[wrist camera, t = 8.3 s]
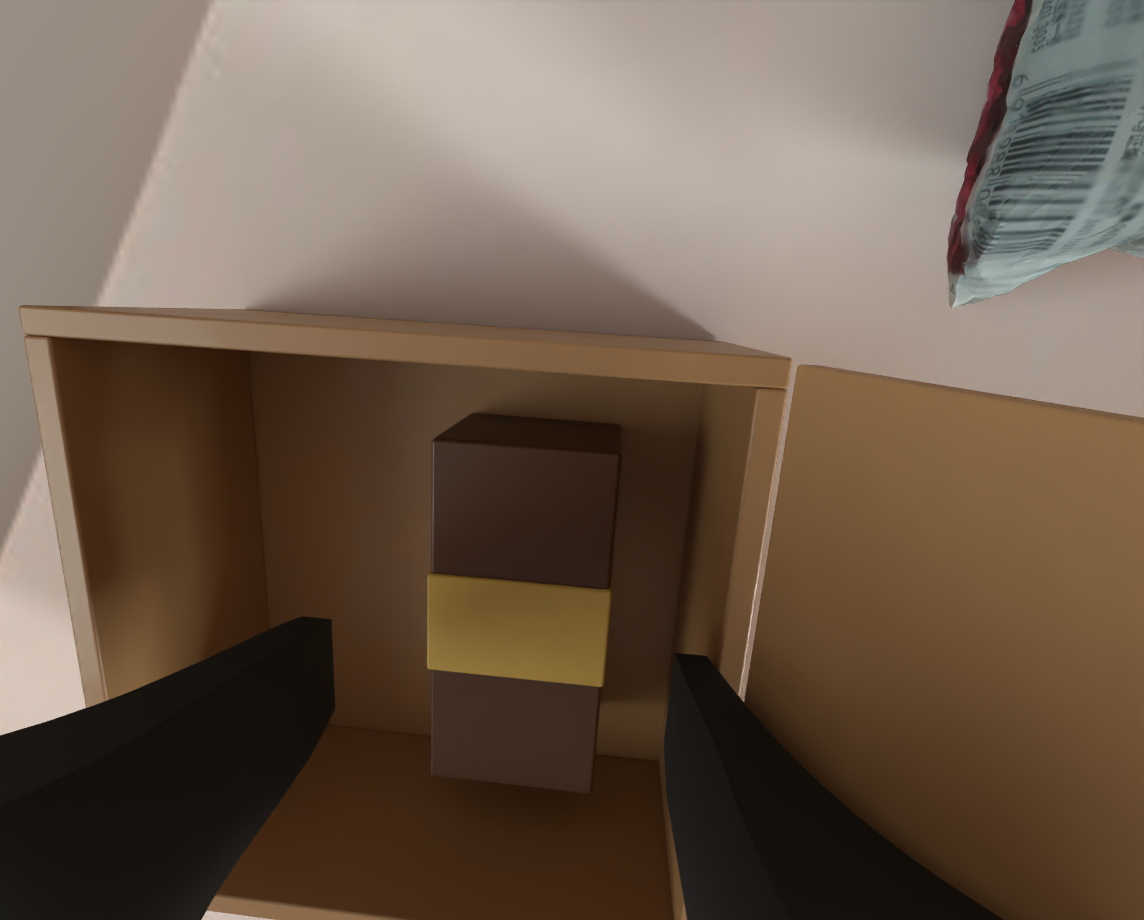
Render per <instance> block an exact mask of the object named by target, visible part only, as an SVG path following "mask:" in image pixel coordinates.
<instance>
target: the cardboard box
mask: <svg viewBox="0 0 1144 920" xmlns="http://www.w3.org/2000/svg"><path fill="white" fill-rule="evenodd" d="M19 312H20V318H21V324H22V330H23V333H24V334H26V335H28V336H25V338H24V340H25V347H26V353H27V359H28V364H29V370H30V376H31V382H32V388H33V394H34V400H35V405H36V412H37V418H38V424H39V430H40V436H41V442H42V448H43V454H44V460H45V466H46V472H47V478H48V484H49V489H50V495H51V501H52V507H53V513H54V519H55V525H56V531H57V537H58V543H59V549H60V555H61V561H62V567H63V573H64V579H65V585H66V591H67V597H68V603H69V608H70V614H71V620H72V626H73V632H74V638H75V644H76V650H77V656H78V662H79V668H80V674H81V680H82V686H83V692H84V698H85V704H86V708H88V707H90V706H93V705H96V704H99V703H102V702H104V701H107V700H109V699H112V698H115V697H117V696H120V695H123V694H125V693H128V692H130V691H133V690H135V689H138V688H140V687H142V686H145V685H147V684H149V683H151V682H154V681H156V680H158V679H161V678H163V677H165V676H168V675H170V674H172V673H175V672H177V671H179V670H182V669H184V668H186V667H189V666H191V665H193V664H196V663H198V662H200V661H202V660H204V659H207V658H209V657H211V656H213V655H215V654H217V653H220V652H222V651H224V650H226V649H228V648H230V647H232V646H235V645H237V644H239V643H241V642H243V641H245V640H247V639H250V638H252V637H254V636H256V635H258V634H260V633H263V632H265V631H267V630H269V629H271V628H274V627H276V626H278V625H280V624H283V623H285V622H288V621H290V620H293V619H296V618H298V617H301V616H305V617H315V618H326V619H332V640H333V663H334V686H335V710H334V712H333V714H332V716H331V718H330V720H329V722H328V724H327V726H326V728H325V730H324V732H323V734H322V736H321V738H320V740H319V742H318V744H317V745H316V747H315V749H314V751H313V753H312V755H311V756H310V758H309V760H308V761H307V763H306V764H305V765H304V767H303V768H302V770H301V771H300V773H299V774H298V776H297V777H296V779H295V780H294V782H293V783H292V785H291V786H290V787H289V789H288V790H287V792H286V793H285V795H284V796H283V798H282V799H281V800H280V802H279V803H278V805H277V806H276V808H275V809H274V810H273V812H272V813H271V815H270V816H269V818H268V819H267V820H266V822H265V823H264V825H263V826H262V828H261V829H260V831H259V832H258V833H257V835H256V836H255V838H254V839H253V841H252V842H251V843H250V845H249V846H248V848H247V849H246V851H245V852H244V853H243V855H242V856H241V858H240V859H239V861H238V862H237V863H236V865H235V866H234V868H233V869H232V871H231V872H230V874H229V875H228V877H227V878H226V880H225V881H224V883H223V885H222V886H221V888H220V889H219V891H218V892H217V894H216V895H215V897H214V898H213V900H212V902H211V904H210V905H209V907H208V909H207V911H214V912H222V913H230V914H237V915H245V916H253V917H260V918H268V919H275V920H687V916H686V910H685V904H684V898H683V892H682V886H681V880H680V874H679V869H678V863H677V857H676V851H675V845H674V839H673V833H672V827H671V821H670V815H669V809H668V802H667V796H666V779H665V761H664V736H665V728H666V720H667V711H668V703H669V695H670V686H671V678H672V670H673V661H674V653H683V654H694V655H704V656H707V657H708V658H709V659H710V660H711V662H712V663H713V664H714V665H715V667H716V668H717V669H718V671H719V672H720V673H721V674H722V676H723V677H724V678H725V679H726V681H727V682H728V683H729V685H730V686H731V687H732V688H733V690H734V691H735V692H736V693H737V695H738V696H739V697H740V694H741V687H742V681H743V674H744V668H745V662H746V655H747V649H748V642H749V636H750V629H751V623H752V617H753V610H754V604H755V597H756V591H757V585H758V578H759V572H760V565H761V559H762V552H763V546H764V540H765V533H766V527H767V520H768V514H769V507H770V501H771V495H772V488H773V482H774V475H775V469H776V463H777V456H778V450H779V443H780V437H781V430H782V424H783V418H784V411H785V405H786V398H787V390H785V389H787V388H788V386H789V380H790V374H791V367H792V359H791V358H789V357H785V356H781V355H776V354H772V353H768V352H764V351H760V350H755V349H751V348H747V347H743V346H739V345H734V344H730V343H726V342H718V341H704V340H689V339H674V338H659V337H644V336H629V335H614V334H599V333H584V332H569V331H554V330H539V329H524V328H510V327H495V326H480V325H465V324H450V323H435V322H420V321H405V320H390V319H375V318H360V317H345V316H331V315H316V314H301V313H286V312H271V311H256V310H241V309H189V308H136V307H81V306H31V305H28V306H27V305H22V306H20V307H19ZM472 413H478V414H491V415H504V416H517V417H530V418H543V419H557V420H570V421H583V422H596V423H609V424H618V425H620V427H621V456H622V457H621V469H620V481H619V492H618V504H617V515H616V527H615V538H614V550H613V576H612V601H611V613H610V624H609V635H608V647H607V658H606V669H605V681H604V685H603V687H602V688H601V700H600V711H599V723H598V734H597V746H596V757H595V769H594V780H593V790H592V792H591V793H590V794H586V793H577V792H568V791H559V790H550V789H542V788H533V787H524V786H515V785H507V784H498V783H489V782H480V781H472V780H463V779H454V778H445V777H436V776H432V775H431V670H430V669H428V668H427V576H428V574H429V572H430V571H431V442H432V440H433V439H434V438H435V437H437V436H438V435H440V434H441V433H443V432H444V431H446V430H447V429H449V428H450V427H452V426H453V425H455V424H456V423H458V422H459V421H461V420H462V419H464V418H465V417H467V416H468V415H470V414H472Z"/></svg>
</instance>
